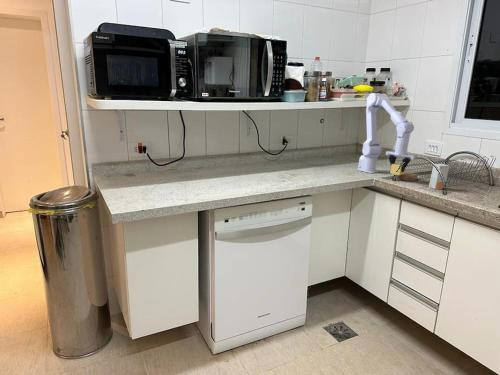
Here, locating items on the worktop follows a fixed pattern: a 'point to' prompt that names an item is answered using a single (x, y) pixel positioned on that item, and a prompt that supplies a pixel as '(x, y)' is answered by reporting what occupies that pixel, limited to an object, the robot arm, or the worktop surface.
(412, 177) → the trivet
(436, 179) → the skincare box
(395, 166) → the block
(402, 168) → the robot arm
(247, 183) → the worktop surface
